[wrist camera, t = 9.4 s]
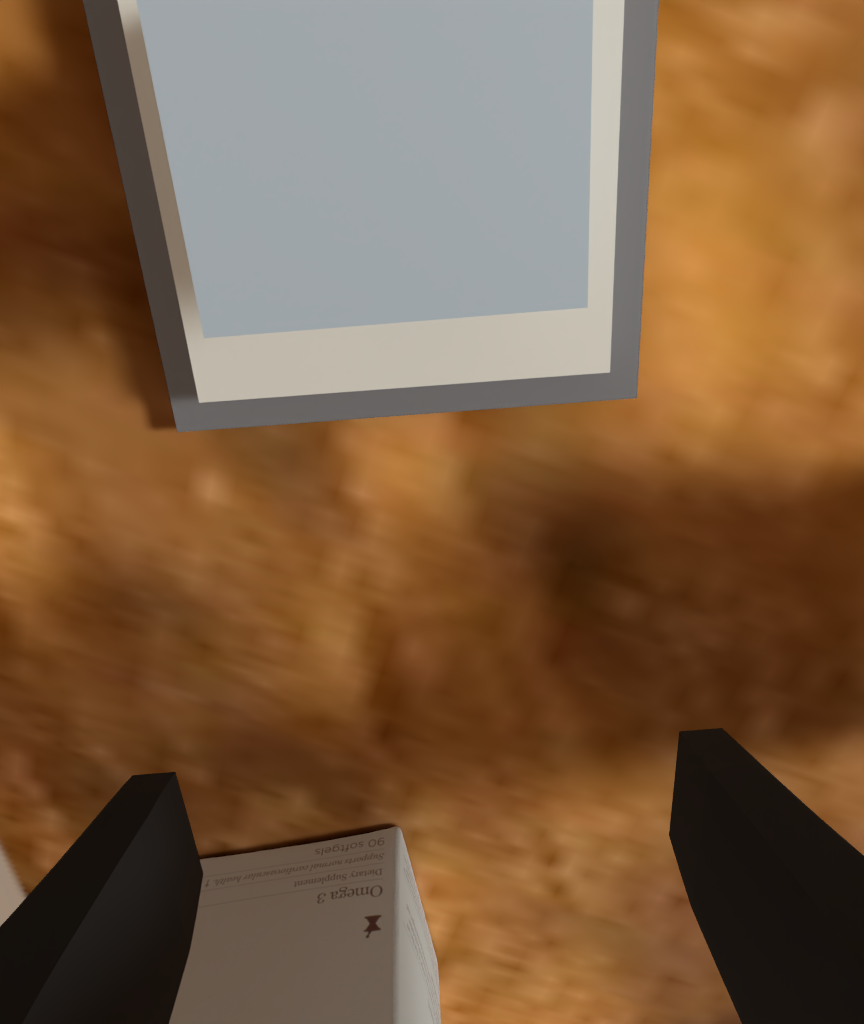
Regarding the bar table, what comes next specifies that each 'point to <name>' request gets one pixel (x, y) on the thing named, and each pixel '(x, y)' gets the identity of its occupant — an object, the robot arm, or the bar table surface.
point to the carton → (376, 157)
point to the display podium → (407, 345)
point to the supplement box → (311, 938)
